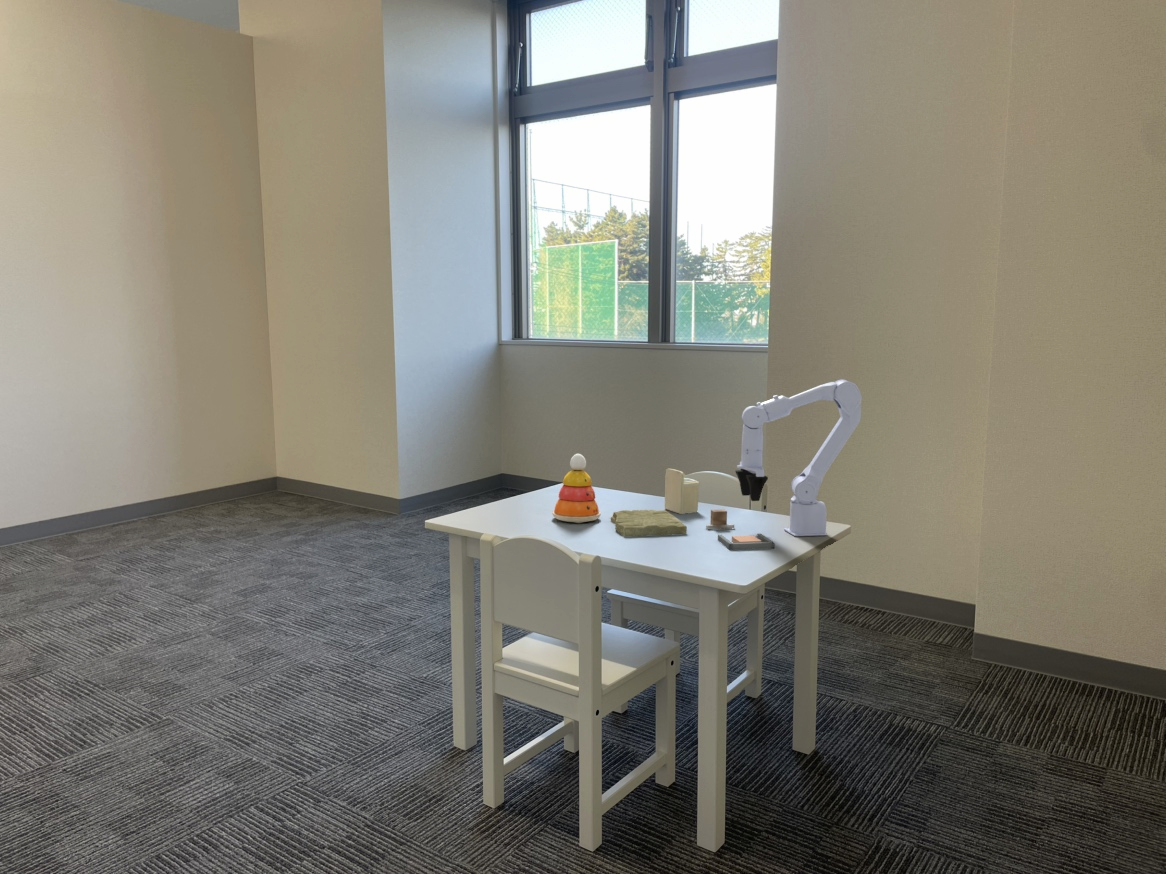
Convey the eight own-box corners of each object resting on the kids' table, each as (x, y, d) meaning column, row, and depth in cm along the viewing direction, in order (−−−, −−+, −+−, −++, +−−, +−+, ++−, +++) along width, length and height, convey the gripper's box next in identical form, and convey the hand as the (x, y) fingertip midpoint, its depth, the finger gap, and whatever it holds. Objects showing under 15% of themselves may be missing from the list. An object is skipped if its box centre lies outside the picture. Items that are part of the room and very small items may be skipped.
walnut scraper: (730, 526, 247) (731, 509, 247) (734, 529, 244) (734, 511, 243) (703, 527, 246) (704, 510, 246) (706, 529, 243) (707, 512, 242)
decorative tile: (666, 519, 257) (666, 508, 257) (687, 536, 238) (687, 523, 237) (605, 522, 253) (605, 510, 253) (621, 538, 234) (621, 526, 233)
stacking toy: (581, 527, 245) (581, 459, 242) (542, 520, 253) (542, 454, 251) (610, 518, 256) (611, 453, 253) (572, 512, 264) (572, 449, 262)
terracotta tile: (753, 542, 231) (753, 535, 230) (761, 548, 225) (761, 540, 224) (731, 543, 230) (731, 536, 229) (739, 549, 224) (739, 541, 223)
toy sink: (700, 512, 266) (701, 470, 264) (680, 514, 262) (681, 472, 260) (683, 507, 273) (684, 466, 271) (664, 509, 269) (665, 467, 268)
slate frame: (760, 540, 233) (760, 533, 233) (774, 550, 223) (774, 542, 223) (717, 542, 231) (717, 534, 231) (729, 551, 221) (729, 544, 221)
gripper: (729, 446, 245) (728, 493, 247) (747, 453, 231) (745, 503, 233) (753, 445, 246) (752, 492, 248) (772, 453, 232) (770, 503, 234)
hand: (750, 498), depth 241 cm, fingers open, 7 cm apart
